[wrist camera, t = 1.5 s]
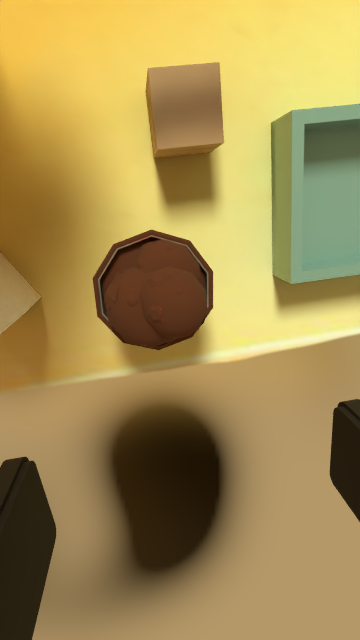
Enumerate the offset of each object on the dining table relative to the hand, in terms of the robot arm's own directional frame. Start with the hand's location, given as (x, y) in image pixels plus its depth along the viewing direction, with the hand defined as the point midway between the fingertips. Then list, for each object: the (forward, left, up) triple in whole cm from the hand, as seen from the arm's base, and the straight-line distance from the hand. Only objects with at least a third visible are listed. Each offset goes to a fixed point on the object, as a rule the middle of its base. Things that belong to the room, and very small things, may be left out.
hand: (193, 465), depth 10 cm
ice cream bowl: (0, 0, -31) cm, 31 cm away
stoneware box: (-6, +23, -30) cm, 39 cm away
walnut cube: (-15, +5, -30) cm, 34 cm away
